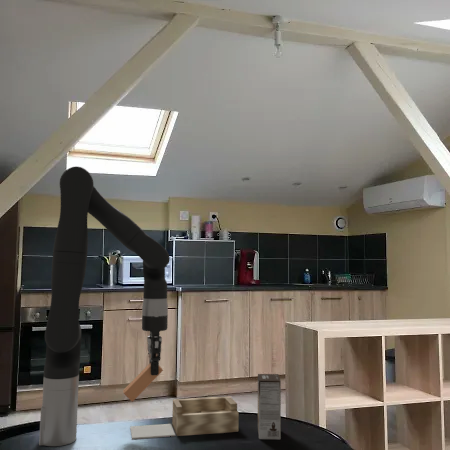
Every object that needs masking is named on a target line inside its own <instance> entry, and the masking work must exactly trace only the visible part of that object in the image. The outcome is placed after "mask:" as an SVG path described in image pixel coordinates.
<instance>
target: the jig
mask: <svg viewBox="0 0 450 450" xmlns="http://www.w3.org/2000/svg"><path fill="white" fill-rule="evenodd" d="M239 414H240V413H239V411H238V402H237V401H235V400H234V399H233V398H232V397H231V396H230V395H229V396H213V397H212V396H210V397H196V398H195V397H193V398H176V399H175V398H174V399H172V414H171V415H172V420H171V426H172V428H173V430H174V433H175V436H177V437H179V436H180V437H183V436H195V435H209V434H224V433H225V434H226V433H236V432H239V419H240V416H239Z"/></svg>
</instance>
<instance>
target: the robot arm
mask: <svg viewBox="0 0 450 450" xmlns="http://www.w3.org/2000/svg"><path fill="white" fill-rule="evenodd" d="M59 191H60V192H59V193H60V209H59V210H60V211H59V219H58V223H57V229H56V232H55V236H54V243H53V250H52V251H53V252H52V261H51V276H50V277H51V278H50V280H51V282H50V287H51V299H50V307H49V313H48V318H47V322H46V326H45V330H44V331H45V332H44V341H45V343H46V352H45V360H44V366H43V380H42V381H43V387H42V400H41V401H42V402H41V403H42V405H41V407H40V416H39V417H40V419H39V438H38V440H39V441H38V445H39V446H47V447H62V446H66V445H70V444H72V443H74V442H75V441H76V440H77V432H78V429H77V427H78V411H79V409H78V408H79V407H78V405H79V385H80V382H79V381H80V366H81V365H80V364H81V348H82V327H81V324H80V321H79V319H80V318H79V316H80V315H79V314H80V313H79V312H80V299H81V295H82V289H83V285H84V281H85V276H86V270H87V262H88V250H89V249H88V246H89V235H88V234H89V232H88V231H89V229H88V216H89V215H88V214H90V216H91V217H93V218H94V219H96V220H97V222H99V223H100V224H101V225H102V226H103V227H104V228H105V229H106V230H107V231H108V232H109V233H110V234H111V235H112V236H113V237H115V238H116V239H117V241H118V242H120V243H121V244H122V245H123V246H124V247H125V248H126V249H128V250H129V251H131V252H133V253H134V254H136V255H137V256H138V257H139V258H140V259H141V260H142V272H143V294H142V295H143V300H142V306H141V309H142V310H141V311H142V312H141V313H142V314H141V330H142V331H144V332H149V335H148V336H147V337H146V341H147V351H148V359H149V360H148V361H149V364H150V363H151V375H158V374H159V366H160V364H159V363H160V361H161V353H162V343H163V338H162V336H161V335H160V332H165V331H167V330H168V326H169V325H168V323H169V322H168V316H169V314H168V312H169V309H168V308H169V306H168V304H169V303H168V283H167V280H166V267H167V266H168V265H169V263H170V259H171V258H170V254H169V252H168V250H167V249H166V248H165V247H164V246H163V245H161V244H160V243H159V242H158V241H157V240H155V239H154V238H152V237H151V236H150V235H148V234H147V233H146V232H145V231H144V230H143V229H142V228H141V227H140V226H139V225H138V224H137V223H136V222H135V221H133V220H132V219H131V218H130V217H129V216H128V215H126V214H125V213H124V212H122V211H120V210H119V209H118V208H116V207H115V206H114V205H112V203H110V202H109V201H108V200H107V199H106V198H104V196H103V195H102V194H101V193H99V191H98V190H97V188H96V187H95V186H94V179H93V176H92V175H91V173H90V172H89V170H87V169H86V168H84V167H82V166H72V167H70V168H68V169H65V171H64V172H63V173H62V174H61V175H60V179H59ZM149 364H148V365H149ZM159 375H160V374H159ZM159 375H158V376H159Z"/></svg>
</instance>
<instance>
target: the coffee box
mask: <svg viewBox="0 0 450 450" xmlns="http://www.w3.org/2000/svg"><path fill="white" fill-rule="evenodd" d="M281 382H282V380H281V378H280V375H279V373H257V432H258V439H259V440H281V438H282V437H281V436H282V435H281V432H282V431H281V430H282V429H281V428H282V427H281V426H282V424H281V421H282V420H281V415H282V414H281V412H282V410H281V408H282V407H281V406H282V405H281V404H282V403H281V402H282V399H281V398H282V397H281V395H282V393H281V391H282V389H281V387H282V385H281V384H282V383H281Z"/></svg>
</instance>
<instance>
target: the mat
mask: <svg viewBox="0 0 450 450" xmlns="http://www.w3.org/2000/svg"><path fill="white" fill-rule="evenodd" d="M129 429H130V435H131V440H139V439H140V440H141V439H143V440H144V439H155V438H167V437H170V436H171V437H176V432H175V430H174V428H173V426H172V423H165V424H164V423H162V424H148V425H135V426H132V425H131V426H130V427H129Z"/></svg>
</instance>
